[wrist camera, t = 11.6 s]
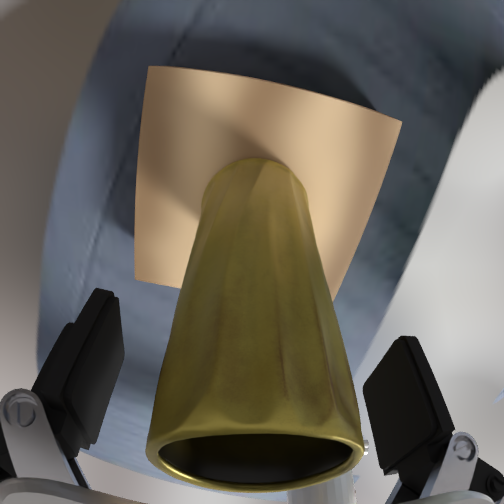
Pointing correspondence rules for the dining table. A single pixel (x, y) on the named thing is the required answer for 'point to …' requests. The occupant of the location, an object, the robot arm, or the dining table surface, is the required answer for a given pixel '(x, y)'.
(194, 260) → the vase
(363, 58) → the dining table surface
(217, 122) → the plinth
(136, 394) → the dining table surface
